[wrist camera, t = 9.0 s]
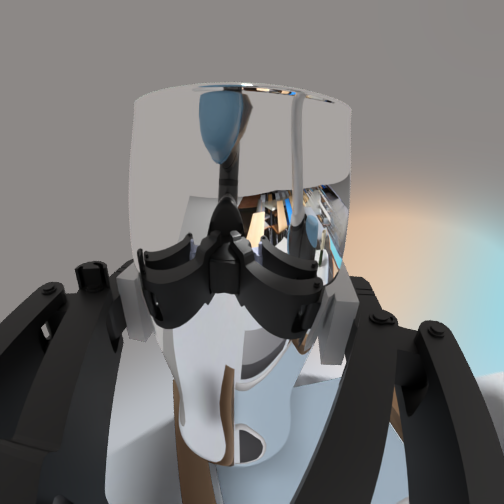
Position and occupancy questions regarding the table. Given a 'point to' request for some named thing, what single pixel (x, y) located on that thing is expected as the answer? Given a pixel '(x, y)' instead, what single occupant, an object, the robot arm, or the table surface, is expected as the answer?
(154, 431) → the table surface
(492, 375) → the table surface
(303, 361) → the beer glass
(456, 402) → the robot arm
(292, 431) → the trapdoor
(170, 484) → the table surface
